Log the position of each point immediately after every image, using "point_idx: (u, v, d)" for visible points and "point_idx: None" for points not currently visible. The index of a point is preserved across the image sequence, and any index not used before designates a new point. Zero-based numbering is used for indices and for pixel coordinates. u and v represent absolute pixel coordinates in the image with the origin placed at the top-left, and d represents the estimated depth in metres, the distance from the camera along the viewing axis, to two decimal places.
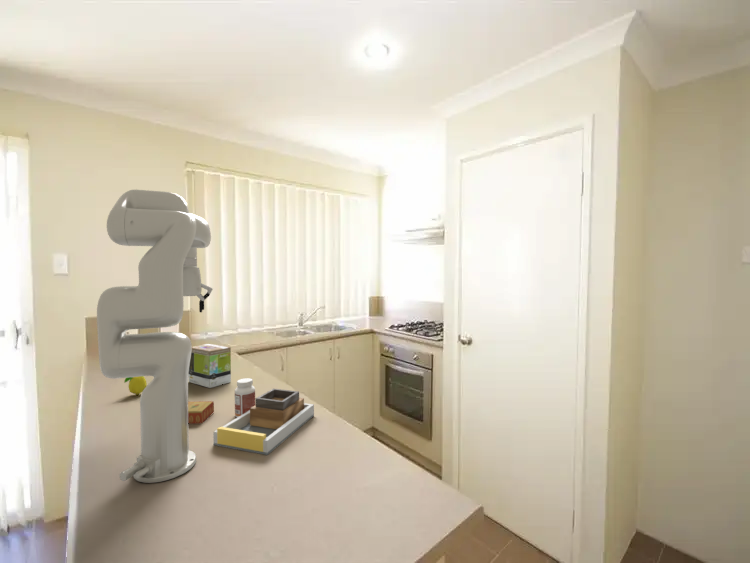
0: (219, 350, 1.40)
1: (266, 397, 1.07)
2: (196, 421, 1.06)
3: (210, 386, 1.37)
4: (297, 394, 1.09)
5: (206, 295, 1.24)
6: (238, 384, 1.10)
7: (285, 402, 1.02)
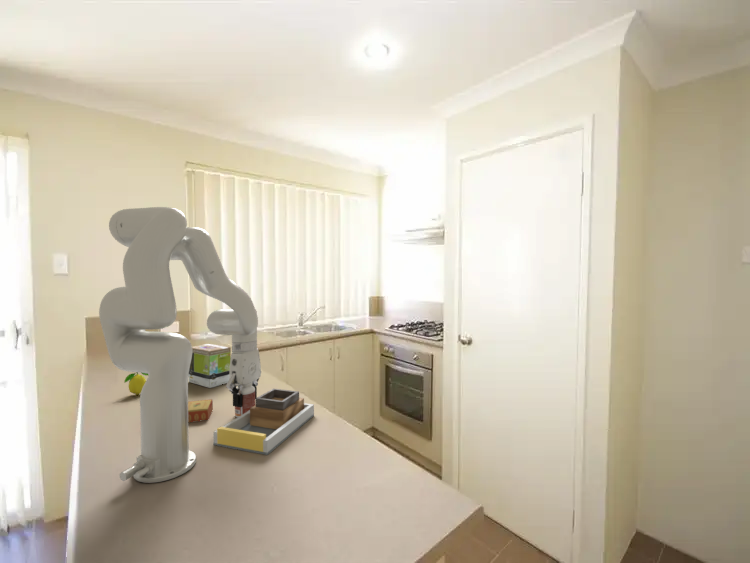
0: (219, 350, 1.40)
1: (266, 397, 1.07)
2: (202, 419, 1.07)
3: (210, 386, 1.37)
4: (297, 394, 1.09)
5: (257, 379, 1.17)
6: None
7: (285, 402, 1.02)
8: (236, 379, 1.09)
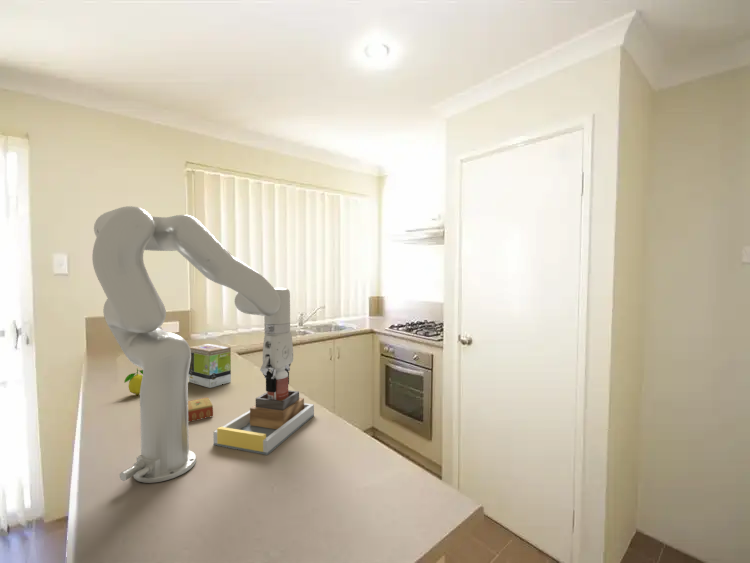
0: (219, 350, 1.40)
1: (266, 397, 1.07)
2: (207, 415, 1.10)
3: (210, 386, 1.37)
4: (297, 394, 1.09)
5: (289, 364, 1.11)
6: None
7: (285, 402, 1.02)
8: (269, 363, 1.03)
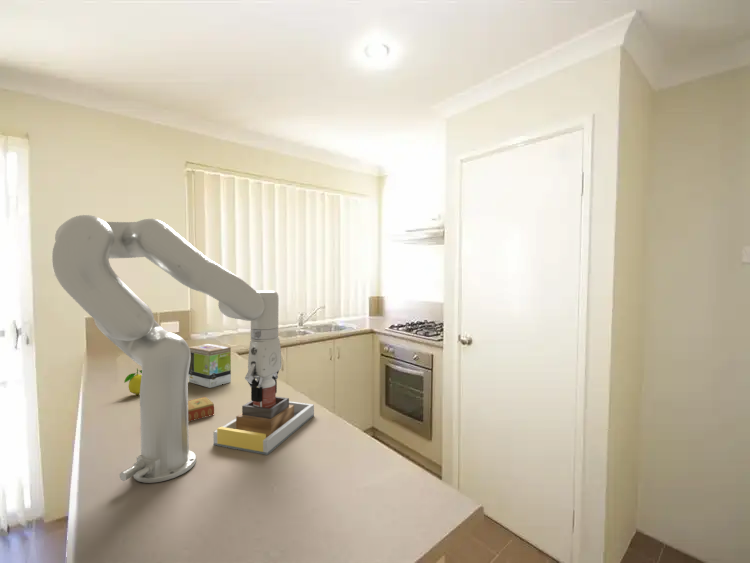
0: (219, 350, 1.40)
1: None
2: (208, 414, 1.11)
3: (210, 386, 1.37)
4: (287, 401, 1.03)
5: (277, 371, 1.05)
6: None
7: (273, 410, 0.96)
8: (255, 370, 0.97)
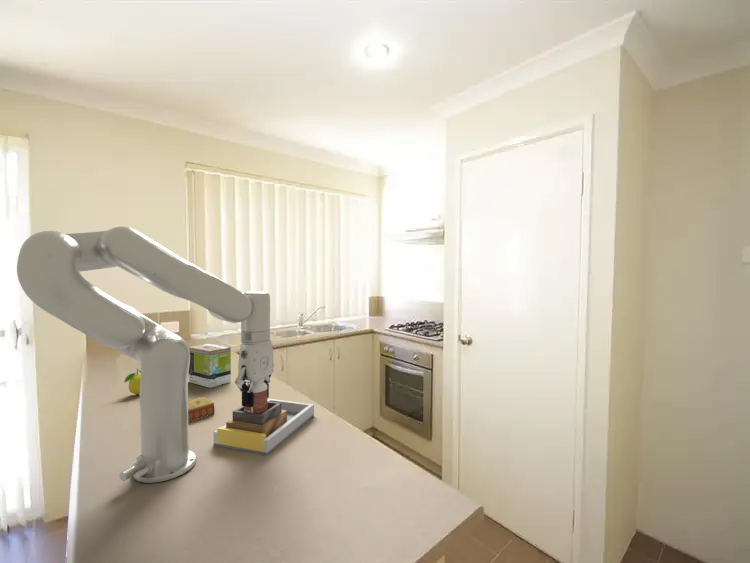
0: (219, 350, 1.40)
1: None
2: (209, 413, 1.11)
3: (210, 386, 1.37)
4: (279, 406, 0.99)
5: (269, 375, 1.01)
6: None
7: (265, 415, 0.93)
8: (246, 374, 0.93)
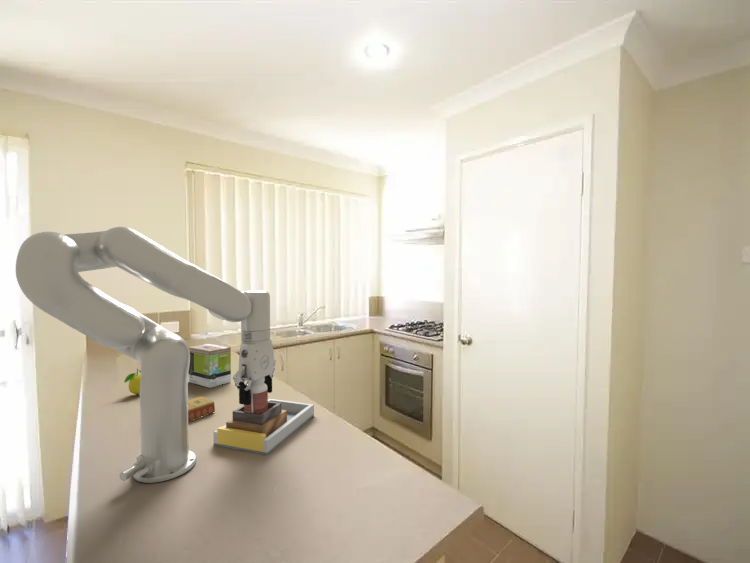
0: (219, 350, 1.40)
1: None
2: (209, 412, 1.12)
3: (210, 386, 1.37)
4: (279, 406, 0.99)
5: None
6: None
7: (265, 415, 0.93)
8: (246, 374, 0.93)
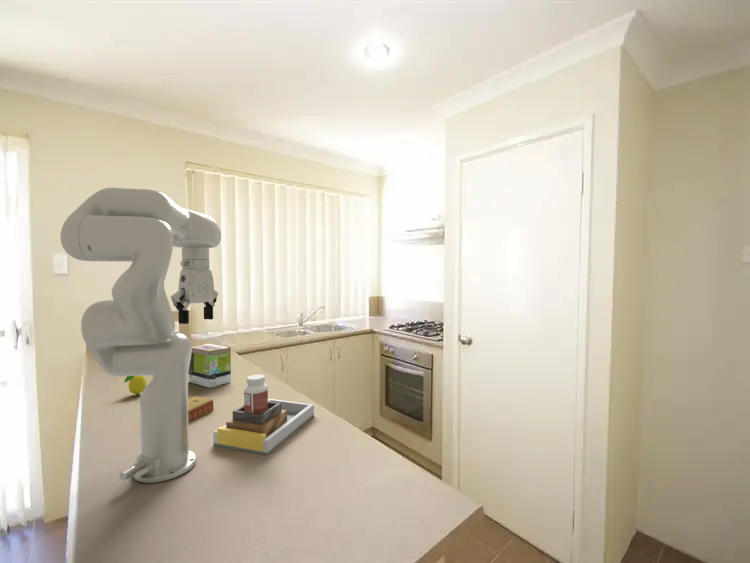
0: (219, 350, 1.40)
1: None
2: (209, 410, 1.14)
3: (210, 386, 1.37)
4: (279, 406, 0.99)
5: (214, 300, 1.14)
6: (248, 381, 0.94)
7: (265, 415, 0.93)
8: (186, 298, 1.05)
